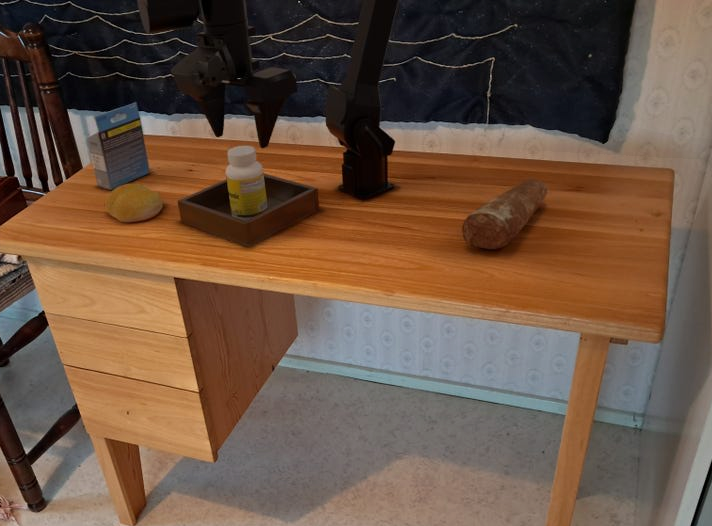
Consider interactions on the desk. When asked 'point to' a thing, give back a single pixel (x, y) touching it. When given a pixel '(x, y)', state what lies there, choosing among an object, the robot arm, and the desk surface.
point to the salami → (503, 216)
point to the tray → (283, 211)
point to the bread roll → (133, 203)
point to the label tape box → (118, 148)
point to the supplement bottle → (245, 183)
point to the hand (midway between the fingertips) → (241, 141)
